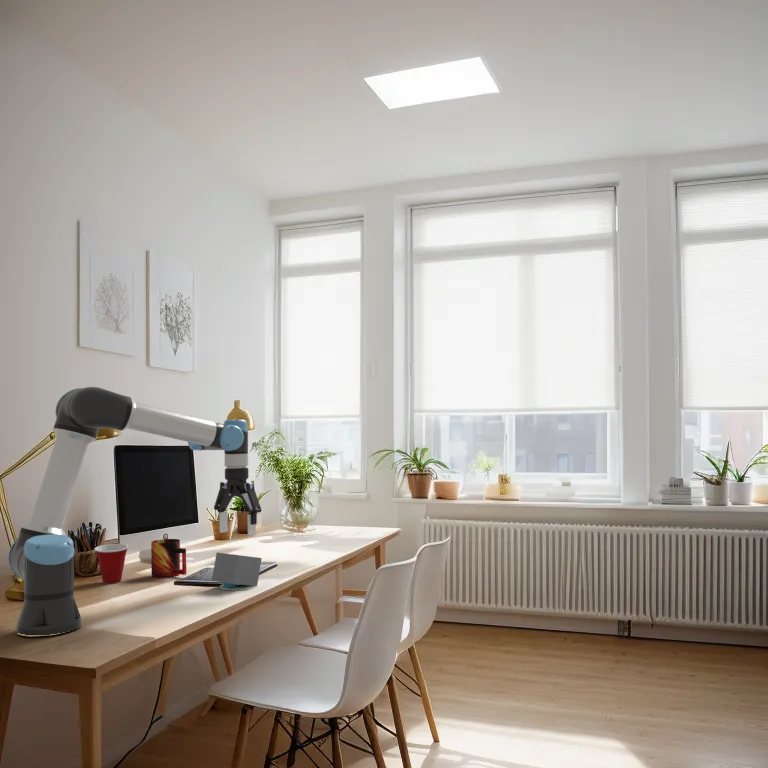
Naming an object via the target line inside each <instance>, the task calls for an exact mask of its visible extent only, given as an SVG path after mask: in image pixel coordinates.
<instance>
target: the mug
mask: <svg viewBox="0 0 768 768" xmlns="http://www.w3.org/2000/svg"><path fill="white" fill-rule="evenodd" d="M150 543H151V545H150V547H151V548H150V549H151V555H150V556H151V559H150V560H151V563H150V566H151V571H150V572H151V578H154V579H170V577H172V578H176V576H177V577H180V576H181V575H183V576H186V575H187V548H185V547H184V548H181V540H180V539H178V538H165V539H164V538H163V539H161V538H160V539H155V540H152V541H151V542H150ZM181 565H182V566H181Z"/></svg>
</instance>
